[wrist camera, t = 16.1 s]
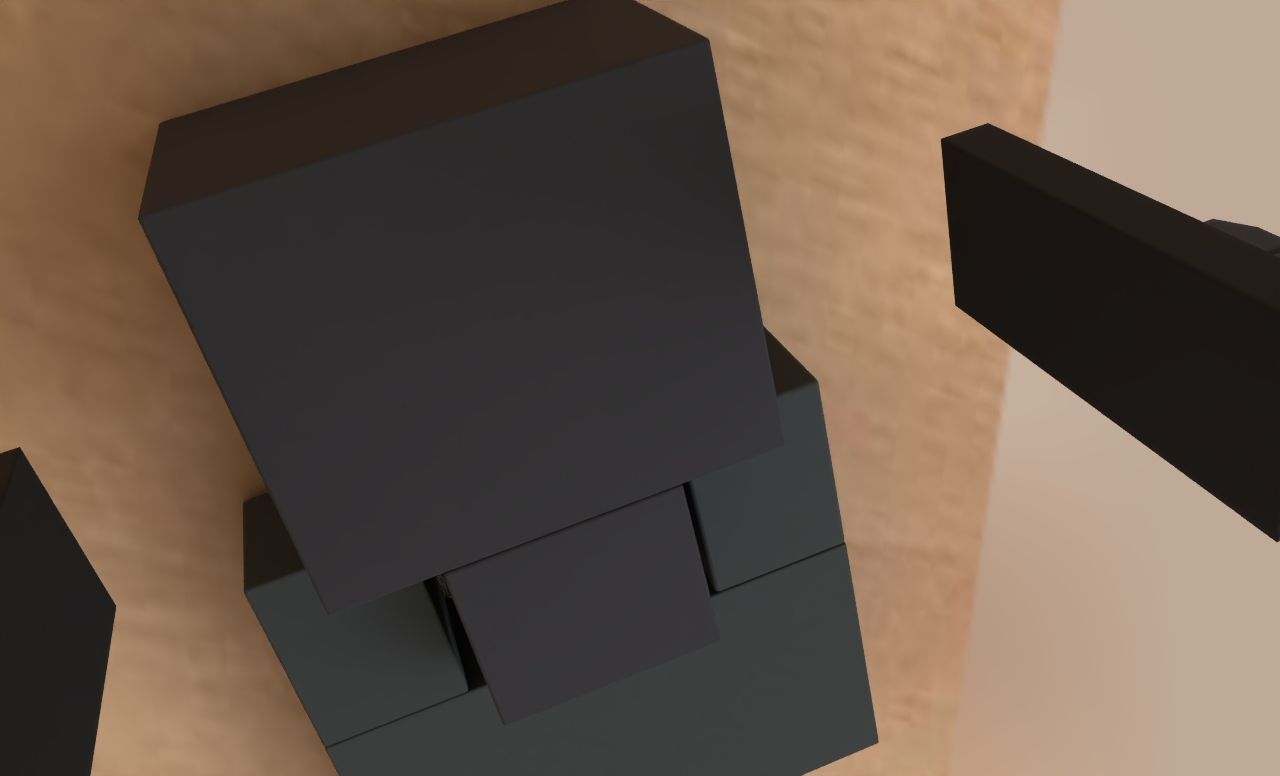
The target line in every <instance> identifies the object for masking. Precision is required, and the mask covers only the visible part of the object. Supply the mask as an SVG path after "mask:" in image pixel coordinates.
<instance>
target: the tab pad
mask: <svg viewBox="0 0 1280 776" xmlns="http://www.w3.org/2000/svg"><path fill="white" fill-rule="evenodd" d="M138 220H139V222H140V224H141V226H142V228H143V230H144V232H145V235H146V237H147V239H148V241H149V243H150V245H151V247H152V249H153V251H154V253H155V255H156V258H157V260H158V262H159V264H160V266H161V268H162V270H163V272H164V274H165V276H166V278H167V281H168V283H169V285H170V287H171V289H172V291H173V293H174V295H175V297H176V299H177V301H178V304H179V306H180V308H181V310H182V312H183V314H184V316H185V318H186V320H187V322H188V324H189V327H190V329H191V331H192V333H193V335H194V337H195V339H196V341H197V343H198V345H199V347H200V349H201V352H202V354H203V356H204V358H205V360H206V362H207V364H208V366H209V368H210V370H211V372H212V375H213V377H214V379H215V381H216V383H217V385H218V387H219V389H220V391H221V393H222V395H223V398H224V400H225V402H226V404H227V406H228V408H229V410H230V412H231V414H232V416H233V418H234V421H235V423H236V425H237V427H238V429H239V431H240V433H241V435H242V437H243V439H244V441H245V444H246V446H247V448H248V450H249V452H250V454H251V456H252V458H253V460H254V462H255V464H256V466H257V469H258V471H259V473H260V475H261V477H262V479H263V481H264V483H265V485H266V487H267V489H268V492H269V494H270V496H271V498H272V500H273V502H274V504H275V506H276V508H277V510H278V512H279V515H280V517H281V519H282V521H283V523H284V525H285V527H286V529H287V531H288V533H289V535H290V538H291V540H292V542H293V544H294V546H295V548H296V550H297V552H298V554H299V556H300V558H301V561H302V563H303V565H304V567H305V569H306V571H307V573H308V575H309V577H310V579H311V581H312V583H313V586H314V588H315V590H316V592H317V594H318V596H319V598H320V600H321V602H322V604H323V606H324V609H325V611H326V613H327V614H328V615H333V614H336V613H338V612H341V611H344V610H346V609H349V608H352V607H354V606H357V605H360V604H362V603H365V602H368V601H370V600H373V599H376V598H378V597H381V596H384V595H386V594H389V593H392V592H394V591H397V590H400V589H402V588H405V587H408V586H410V585H413V584H416V583H418V582H421V581H424V580H426V579H429V578H432V577H434V576H437V575H440V574H442V573H443V577H444V579H445V582H446V584H447V587H448V589H449V592H450V594H451V596H452V599H453V601H454V604H455V606H456V609H457V611H458V614H459V616H460V619H461V621H462V624H463V626H464V629H465V631H466V634H467V636H468V639H469V641H470V644H471V646H472V649H473V651H474V654H475V656H476V659H477V661H478V664H479V666H480V669H481V671H482V674H483V676H484V679H485V681H486V684H487V686H488V689H489V691H490V694H491V696H492V699H493V701H494V704H495V706H496V709H497V711H498V714H499V716H500V719H501V721H502V723H503V724H504V725H505V726H508V725H510V724H513V723H515V722H518V721H520V720H523V719H525V718H528V717H530V716H533V715H535V714H538V713H540V712H543V711H545V710H548V709H550V708H553V707H555V706H558V705H560V704H563V703H565V702H568V701H570V700H573V699H575V698H578V697H580V696H583V695H585V694H588V693H590V692H593V691H595V690H598V689H600V688H603V687H605V686H608V685H610V684H613V683H615V682H618V681H620V680H623V679H625V678H628V677H630V676H633V675H635V674H638V673H640V672H643V671H645V670H648V669H650V668H653V667H655V666H658V665H660V664H663V663H665V662H668V661H671V660H673V659H676V658H678V657H681V656H683V655H686V654H688V653H691V652H693V651H696V650H698V649H701V648H703V647H706V646H708V645H711V644H713V643H716V642H718V641H719V640H720V633H719V629H718V625H717V621H716V617H715V613H714V609H713V605H712V601H711V597H710V593H709V589H708V585H707V581H706V577H705V573H704V569H703V565H702V561H701V557H700V553H699V549H698V545H697V541H696V537H695V533H694V529H693V525H692V521H691V517H690V513H689V509H688V505H687V501H686V497H685V493H684V489H683V486H682V484H683V483H685V482H688V481H691V480H693V479H696V478H699V477H701V476H704V475H707V474H709V473H712V472H715V471H717V470H720V469H723V468H725V467H728V466H731V465H734V464H736V463H739V462H742V461H744V460H747V459H750V458H752V457H755V456H758V455H760V454H763V453H766V452H768V451H771V450H774V449H776V448H779V447H782V446H784V445H785V439H784V433H783V428H782V423H781V417H780V412H779V407H778V401H777V396H776V391H775V386H774V380H773V375H772V370H771V364H770V359H769V354H768V349H767V343H766V338H765V333H764V327H763V322H762V317H761V311H760V306H759V301H758V296H757V290H756V285H755V280H754V274H753V269H752V264H751V259H750V253H749V248H748V243H747V237H746V232H745V227H744V221H743V216H742V211H741V206H740V200H739V195H738V190H737V184H736V179H735V174H734V169H733V163H732V158H731V153H730V147H729V142H728V137H727V131H726V126H725V121H724V116H723V110H722V105H721V100H720V94H719V89H718V84H717V79H716V73H715V68H714V63H713V57H712V52H711V47H710V41H709V40H708V38H706V37H704V36H702V35H700V34H698V33H696V32H694V31H692V30H690V29H689V28H687V27H685V26H683V25H681V24H679V23H677V22H675V21H673V20H671V19H669V18H667V17H665V16H663V15H662V14H660V13H658V12H656V11H654V10H652V9H650V8H648V7H646V6H644V5H642V4H640V3H638V2H636V1H635V0H567V1H564V2H561V3H557V4H554V5H551V6H547V7H544V8H541V9H537V10H534V11H531V12H527V13H524V14H521V15H517V16H514V17H511V18H507V19H504V20H501V21H498V22H494V23H491V24H488V25H484V26H481V27H478V28H474V29H471V30H468V31H464V32H461V33H458V34H454V35H451V36H448V37H444V38H441V39H438V40H434V41H431V42H428V43H424V44H421V45H418V46H414V47H411V48H408V49H404V50H401V51H398V52H394V53H391V54H388V55H384V56H381V57H378V58H374V59H371V60H368V61H364V62H361V63H358V64H354V65H351V66H348V67H344V68H341V69H338V70H334V71H331V72H328V73H324V74H321V75H318V76H314V77H311V78H308V79H304V80H301V81H298V82H294V83H291V84H288V85H284V86H281V87H278V88H274V89H271V90H268V91H264V92H261V93H258V94H254V95H251V96H248V97H245V98H241V99H238V100H235V101H231V102H228V103H225V104H221V105H218V106H215V107H211V108H208V109H205V110H201V111H198V112H195V113H191V114H188V115H185V116H181V117H178V118H175V119H171V120H168V121H165V122H162V123H160V124H159V129H158V133H157V137H156V142H155V146H154V150H153V155H152V159H151V163H150V167H149V172H148V176H147V180H146V185H145V189H144V193H143V198H142V202H141V206H140V211H139V215H138Z"/></svg>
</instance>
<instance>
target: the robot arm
mask: <svg viewBox="0 0 1280 776" xmlns="http://www.w3.org/2000/svg"><path fill="white" fill-rule="evenodd" d="M941 147H942V158H943V170H944V181H945V193H946V204H947V215H948V227H949V238H950V250H951V261H952V273H953V284H954V296H955V305H956V306H957V307H958V308H960V309H961V310H962V311H964V312H965V313H966V314H968V315H969V316H971V317H972V318H973V319H975V320H976V321H977V322H979V323H980V324H981V325H983V326H984V327H985V328H987V329H988V330H990V331H991V332H992V333H994V334H995V335H996V336H998V337H999V338H1000V339H1002V340H1003V341H1004V342H1006V343H1007V344H1009V345H1010V346H1011V347H1013V348H1014V349H1015V350H1017V351H1018V352H1019V353H1021V354H1022V355H1023V356H1025V357H1026V358H1028V359H1029V360H1030V361H1032V362H1033V363H1034V364H1036V365H1037V366H1038V367H1040V368H1041V369H1043V370H1044V371H1045V372H1047V373H1048V374H1049V375H1051V376H1052V377H1053V378H1055V379H1056V380H1057V381H1059V382H1060V383H1061V384H1063V385H1064V386H1066V387H1067V388H1068V389H1070V390H1071V391H1072V392H1074V393H1075V394H1076V395H1078V396H1079V397H1080V398H1082V399H1083V400H1084V401H1086V402H1087V403H1089V404H1090V405H1091V406H1093V407H1094V408H1096V409H1097V410H1098V411H1100V412H1101V413H1102V414H1103V415H1105V416H1106V417H1108V418H1109V419H1110V420H1112V421H1113V422H1114V423H1116V424H1117V425H1119V426H1120V427H1121V428H1123V429H1124V430H1125V431H1127V432H1128V433H1129V434H1131V435H1132V436H1133V437H1135V438H1136V439H1137V440H1139V441H1140V442H1142V443H1143V444H1144V445H1146V446H1147V447H1148V448H1150V449H1151V450H1152V451H1154V452H1155V453H1156V454H1158V455H1159V456H1160V457H1162V458H1163V459H1165V460H1166V461H1167V462H1169V463H1170V464H1171V465H1173V466H1174V467H1175V468H1177V469H1178V470H1179V471H1181V472H1182V473H1184V474H1185V475H1186V476H1188V477H1189V478H1190V479H1192V480H1193V481H1194V482H1196V483H1197V484H1199V485H1200V486H1201V487H1203V488H1204V489H1205V490H1207V491H1208V492H1209V493H1211V494H1212V495H1214V496H1215V497H1216V498H1218V499H1219V500H1220V501H1222V502H1223V503H1224V504H1226V505H1227V506H1228V507H1230V508H1231V509H1232V510H1234V511H1235V512H1236V513H1238V514H1239V515H1241V516H1242V517H1243V518H1245V519H1246V520H1247V521H1249V522H1250V523H1252V524H1253V525H1254V526H1255V527H1257V528H1258V529H1260V530H1261V531H1262V532H1264V533H1265V534H1267V535H1268V536H1269V537H1270V538H1272V539H1273V540H1275V541H1276V542H1279V541H1280V237H1279V236H1276V235H1274V234H1272V233H1270V232H1267V231H1265V230H1263V229H1261V228H1258V227H1254V226H1248V225H1243V224H1237V223H1232V222H1227V221H1221V220H1216V219H1211V220H1209V221H1206V222H1202V221H1199V220H1197V219H1195V218H1193V217H1191V216H1188V215H1186V214H1184V213H1182V212H1180V211H1178V210H1175V209H1173V208H1171V207H1169V206H1167V205H1165V204H1162V203H1160V202H1158V201H1156V200H1154V199H1152V198H1149V197H1147V196H1145V195H1143V194H1141V193H1138V192H1136V191H1134V190H1132V189H1130V188H1127V187H1125V186H1123V185H1121V184H1119V183H1117V182H1115V181H1113V180H1110V179H1108V178H1106V177H1104V176H1101V175H1099V174H1097V173H1095V172H1093V171H1091V170H1089V169H1086V168H1084V167H1082V166H1080V165H1078V164H1076V163H1073V162H1071V161H1069V160H1067V159H1065V158H1063V157H1060V156H1058V155H1056V154H1054V153H1051V152H1050V151H1047V150H1045V149H1043V148H1041V147H1039V146H1036V145H1034V144H1032V143H1030V142H1028V141H1026V140H1023V139H1021V138H1019V137H1017V136H1015V135H1013V134H1010V133H1008V132H1006V131H1004V130H1002V129H1000V128H997V127H995V126H993V125H991V124H989V123H987V124H984V125H981V126H978V127H975V128H972V129H969V130H966V131H963V132H960V133H957V134H954V135H951V136H948V137H945V138H942V139H941ZM115 611H116V605H115V603H114V602H113V600H112V598H111V597H110V595H109V593H108V592H107V590H106V588H105V587H104V585H103V584H102V582H101V580H100V579H99V577H98V575H97V574H96V572H95V570H94V569H93V567H92V565H91V564H90V562H89V560H88V559H87V557H86V555H85V554H84V552H83V551H82V549H81V547H80V546H79V544H78V542H77V541H76V539H75V537H74V536H73V534H72V532H71V531H70V529H69V527H68V526H67V524H66V522H65V521H64V519H63V518H62V516H61V514H60V513H59V511H58V509H57V508H56V506H55V504H54V503H53V501H52V499H51V498H50V496H49V494H48V493H47V491H46V489H45V488H44V486H43V484H42V483H41V481H40V480H39V478H38V476H37V475H36V473H35V471H34V470H33V468H32V466H31V465H30V463H29V461H28V460H27V458H26V456H25V455H24V453H23V451H22V450H21V448H20V447H18V448H15V449H12V450H9V451H6V452H3V453H0V776H90V774H91V768H92V761H93V755H94V748H95V742H96V735H97V729H98V722H99V716H100V709H101V703H102V696H103V690H104V683H105V676H106V670H107V663H108V657H109V650H110V644H111V637H112V631H113V624H114V618H115Z"/></svg>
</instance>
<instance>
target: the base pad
mask: <svg viewBox="0 0 1280 776" xmlns="http://www.w3.org/2000/svg"><path fill="white" fill-rule="evenodd" d="M763 327H764V326H763ZM764 333H765V338H766V343H767V349H768V354H769V359H770V364H771V370H772V375H773V380H774V386H775V391H776V396H777V401H778V407H779V412H780V417H781V423H782V428H783V433H784V439H785V445H784V446H782V447H779V448H776V449H774V450H771V451H768V452H766V453H763V454H760V455H758V456H755V457H752V458H750V459H747V460H744V461H742V462H739V463H736V464H734V465H731V466H728V467H725V468H723V469H720V470H717V471H715V472H712V473H709V474H707V475H704V476H701V477H699V478H696V479H693V480H691V481H688V482H685V483H683V484H682V486H683V489H684V493H685V497H686V501H687V505H688V509H689V513H690V517H691V521H692V525H693V529H694V533H695V537H696V541H697V545H698V549H699V553H700V557H701V561H702V565H703V569H704V573H705V577H706V581H707V585H708V589H709V593H710V597H711V601H712V605H713V609H714V613H715V617H716V621H717V625H718V629H719V633H720V640H719V641H718V642H716V643H713V644H711V645H708V646H706V647H703V648H701V649H698V650H696V651H693V652H691V653H688V654H686V655H683V656H681V657H678V658H676V659H673V660H671V661H668V662H665V663H663V664H660V665H658V666H655V667H653V668H650V669H648V670H645V671H643V672H640V673H638V674H635V675H633V676H630V677H628V678H625V679H623V680H620V681H618V682H615V683H613V684H610V685H608V686H605V687H603V688H600V689H598V690H595V691H593V692H590V693H588V694H585V695H583V696H580V697H578V698H575V699H573V700H570V701H568V702H565V703H563V704H560V705H558V706H555V707H553V708H550V709H548V710H545V711H543V712H540V713H538V714H535V715H533V716H530V717H528V718H525V719H523V720H520V721H518V722H515V723H513V724H510V725H508V726H505V725H504V724H503V723H502V721H501V719H500V716H499V714H498V711H497V709H496V706H495V704H494V701H493V699H492V696H491V694H490V691H489V689H488V686H487V684H486V681H485V679H484V676H483V674H482V671H481V669H480V666H479V664H478V661H477V659H476V656H475V654H474V651H473V649H472V646H471V644H470V641H469V639H468V636H467V634H466V631H465V629H464V626H463V624H462V621H461V619H460V616H459V614H458V611H457V609H456V606H455V604H454V601H453V599H451V600H448V601H446V600H445V597H444V595H443V593H442V590H441V588H440V585H439V583H438V580H437V578H436V576H434V577H432V578H429V579H426V580H424V581H421V582H418V583H416V584H413V585H410V586H408V587H405V588H402V589H400V590H397V591H394V592H392V593H389V594H386V595H384V596H381V597H378V598H376V599H373V600H370V601H368V602H365V603H362V604H360V605H357V606H354V607H352V608H349V609H346V610H344V611H341V612H338V613H336V614H333V615H328V614H327V613H326V611H325V609H324V606H323V604H322V602H321V600H320V598H319V596H318V594H317V592H316V590H315V588H314V586H313V583H312V581H311V579H310V577H309V575H308V573H307V571H306V569H305V567H304V565H303V563H302V561H301V558H300V556H299V554H298V552H297V550H296V548H295V546H294V544H293V542H292V540H291V538H290V535H289V533H288V531H287V529H286V527H285V525H284V523H283V521H282V519H281V517H280V515H279V512H278V510H277V508H276V506H275V504H274V502H273V500H272V498H271V496H270V494H266V495H263V496H260V497H257V498H255V499H252V500H249V501H246V502H244V503H243V556H244V594H245V596H246V598H247V599H248V601H249V603H250V605H251V607H252V609H253V611H254V613H255V615H256V617H257V619H258V621H259V622H260V624H261V626H262V628H263V630H264V632H265V634H266V636H267V638H268V640H269V642H270V643H271V645H272V647H273V649H274V651H275V653H276V655H277V657H278V659H279V661H280V663H281V665H282V666H283V668H284V670H285V672H286V674H287V676H288V678H289V680H290V682H291V684H292V686H293V688H294V689H295V691H296V693H297V695H298V697H299V699H300V701H301V703H302V705H303V707H304V709H305V711H306V712H307V714H308V716H309V718H310V720H311V722H312V724H313V726H314V728H315V730H316V732H317V734H318V735H319V737H320V739H321V741H322V743H323V745H324V746H325V749H326V751H327V753H328V755H329V757H330V759H331V761H332V763H333V765H334V766H335V768H336V770H337V772H338V774H339V776H801V775H804V774H806V773H808V772H811V771H813V770H815V769H818V768H820V767H822V766H825V765H827V764H830V763H832V762H834V761H837V760H839V759H841V758H844V757H846V756H848V755H851V754H853V753H855V752H858V751H860V750H862V749H865V748H867V747H870V746H872V745H874V744H877V743H878V742H879V741H878V734H877V728H876V722H875V716H874V710H873V704H872V698H871V692H870V686H869V680H868V674H867V668H866V662H865V656H864V650H863V644H862V638H861V632H860V626H859V620H858V614H857V608H856V602H855V596H854V590H853V584H852V578H851V572H850V566H849V560H848V554H847V548H846V544H845V542H844V534H843V528H842V522H841V516H840V510H839V504H838V498H837V492H836V486H835V480H834V474H833V468H832V462H831V456H830V450H829V444H828V438H827V432H826V426H825V420H824V414H823V408H822V402H821V396H820V390H819V384H818V381H817V380H816V379H815V377H814V376H813V375H812V374H811V373H810V372H809V371H808V370H807V369H806V368H805V367H804V366H803V365H802V364H801V363H800V362H799V361H798V360H797V359H796V358H795V357H794V356H793V355H792V354H791V353H790V352H789V351H788V350H787V349H786V348H785V347H784V346H783V345H782V344H781V343H780V342H779V341H778V340H777V339H776V338H775V337H774V336H773V335H772V334H771V333H770V332H769V331H768V330H767V329H766V328H765V327H764Z"/></svg>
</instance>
